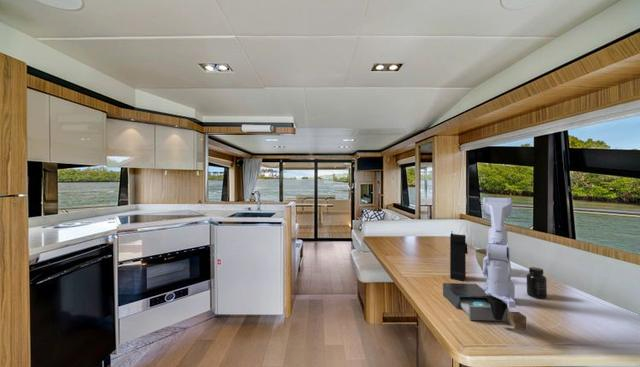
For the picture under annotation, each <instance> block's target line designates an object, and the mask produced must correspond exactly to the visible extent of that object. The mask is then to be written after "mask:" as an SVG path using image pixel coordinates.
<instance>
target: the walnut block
mask: <svg viewBox="0 0 640 367" xmlns="http://www.w3.org/2000/svg"><path fill="white" fill-rule="evenodd" d="M507 323H508V325H510V326H511V327H513V328H514V329H515V330H517V329H518V330H522V329H523V330H527V316H526V315H524V313H521V312H519V311H508V321H507Z"/></svg>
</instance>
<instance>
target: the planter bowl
mask: <svg viewBox="0 0 640 367" xmlns="http://www.w3.org/2000/svg"><path fill="white" fill-rule="evenodd" d="M474 253H475V259H476V262H477V265H478V266H479V267H480V269H481V271H482V272H483V259H484V257H485V256H487V248H478V249H475V250H474ZM507 259H508V258H507Z"/></svg>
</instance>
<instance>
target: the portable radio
mask: <svg viewBox="0 0 640 367" xmlns="http://www.w3.org/2000/svg"><path fill="white" fill-rule="evenodd" d="M466 237H467V236H466V235H465V234H459V233H458V234H457V233H453V232H451V233H450V235H449V238H450V239H449V241H450V242H449V243H450V244H449V245H450V248H449V250H450V251H449V252H450V253H449V267H450V268H449V270H450V271H449V272H450V273H449V274H450V276H449V278H450V279H452V280H457V281H460V282H461V281H462V282H465V281H466V278H467V277H466V274H467V273H466V272H467V271H466V268H467V267H466V266H467V262H466V261H467V260H466V259H467V258H466V255H468V253H469V252H468V243H467V240H466Z"/></svg>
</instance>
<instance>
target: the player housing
mask: <svg viewBox="0 0 640 367" xmlns="http://www.w3.org/2000/svg"><path fill="white" fill-rule="evenodd" d="M485 291H486V290H483V287H481V286H480V285H478V284H477V283H463V282H462V283H453V282H443V283H442V295H443V297H444V298H445V299H447V301H448V302H449V303H450V304H451V305H452V306H453V307H454V308H456V309H457V310H464V309H463V308H462V307H461V306H459V299H485V300H486V301H487V302H488V300H487V298H486V296H490V295H487V294H486V293H485Z"/></svg>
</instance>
